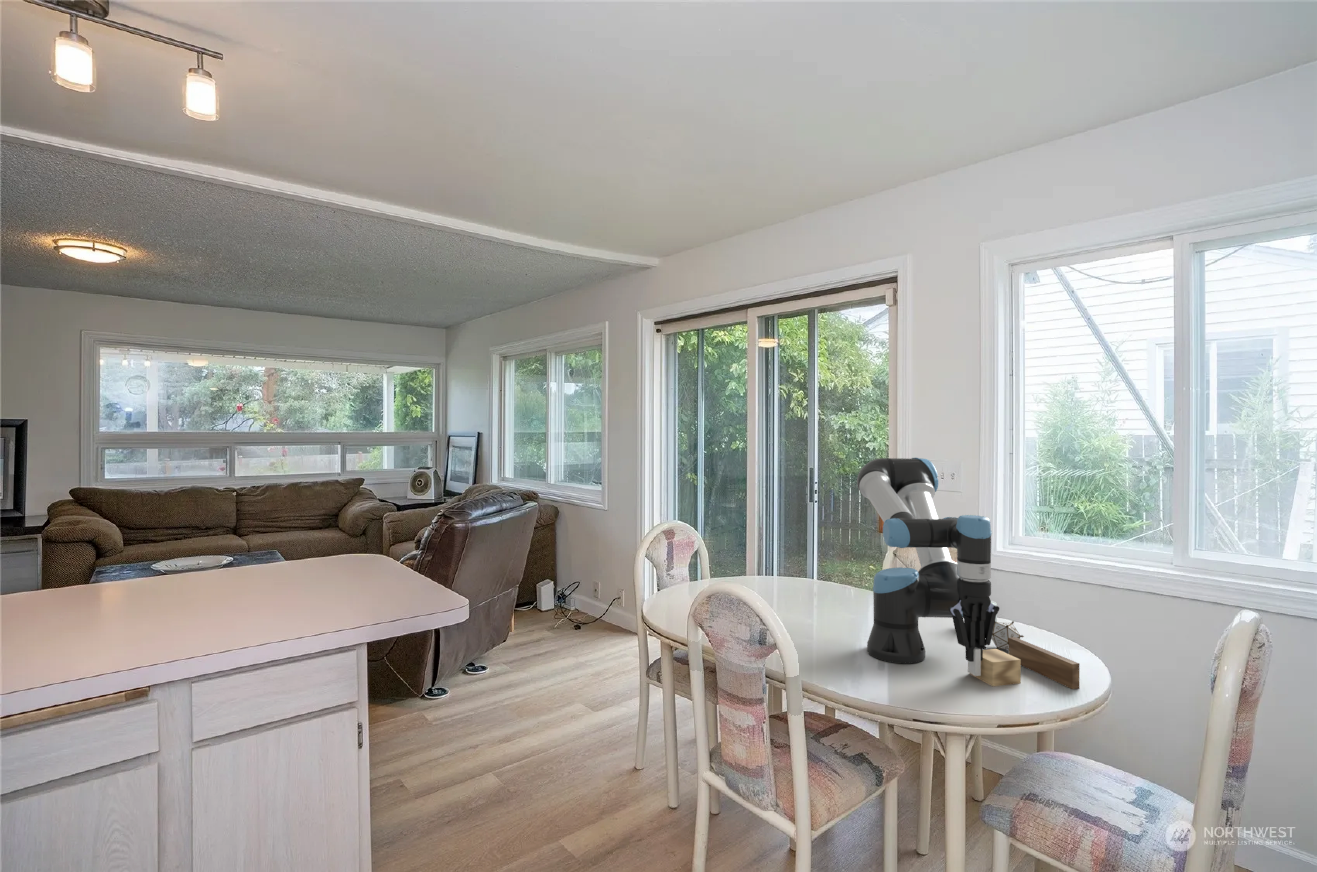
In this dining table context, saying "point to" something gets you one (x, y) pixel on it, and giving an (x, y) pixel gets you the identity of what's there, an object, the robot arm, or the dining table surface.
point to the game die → (1004, 634)
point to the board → (1045, 662)
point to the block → (999, 668)
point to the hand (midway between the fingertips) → (974, 673)
